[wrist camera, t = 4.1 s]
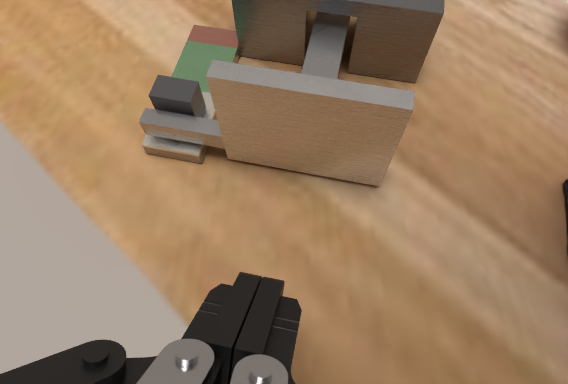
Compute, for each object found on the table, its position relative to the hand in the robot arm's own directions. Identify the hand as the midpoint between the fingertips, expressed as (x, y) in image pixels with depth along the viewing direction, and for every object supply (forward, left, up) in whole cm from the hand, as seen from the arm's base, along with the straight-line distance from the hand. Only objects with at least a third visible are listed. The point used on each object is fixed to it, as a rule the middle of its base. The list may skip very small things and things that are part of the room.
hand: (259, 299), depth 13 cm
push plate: (+2, -14, -7) cm, 16 cm away
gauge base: (+2, -15, -7) cm, 17 cm away
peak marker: (+8, -11, -6) cm, 15 cm away
